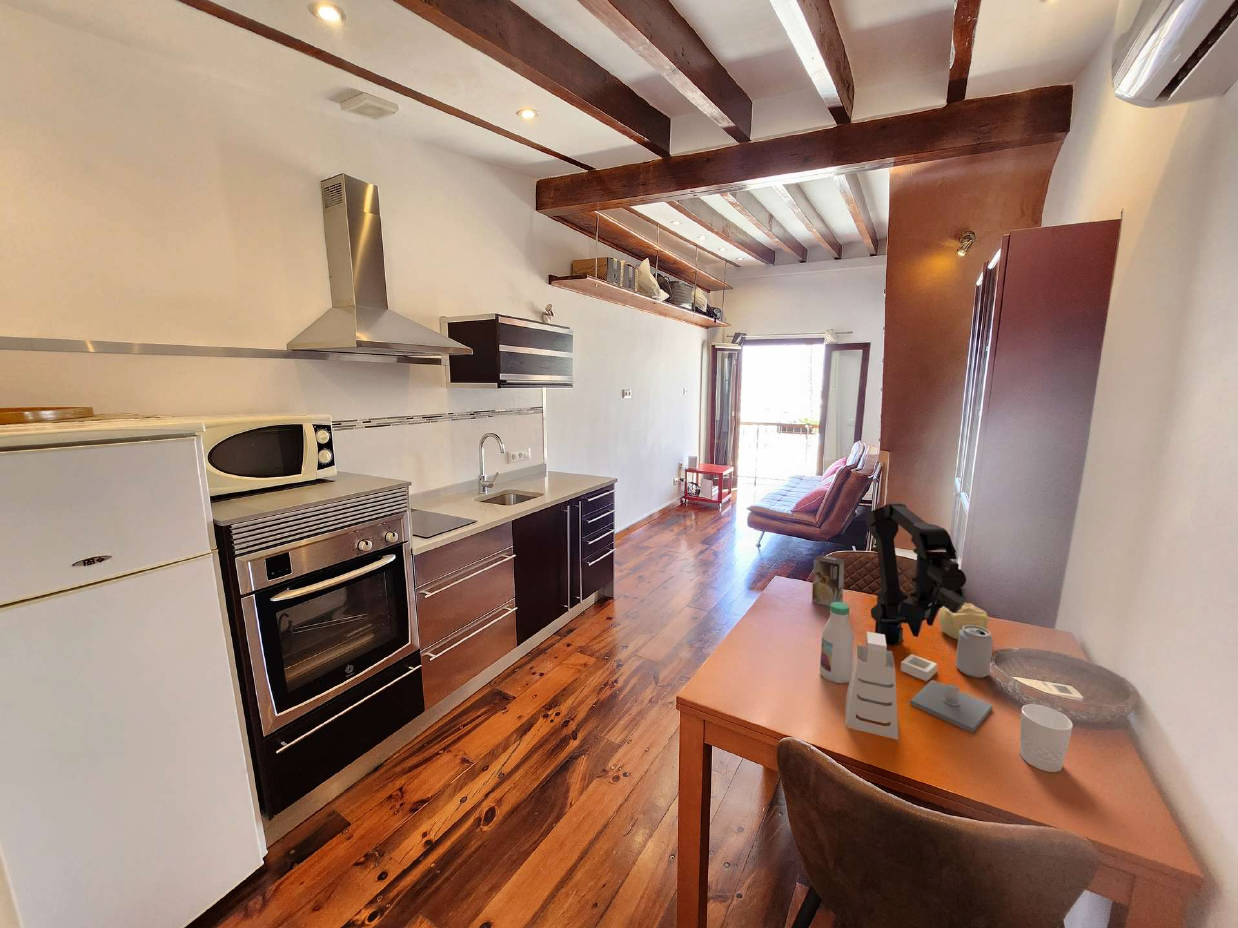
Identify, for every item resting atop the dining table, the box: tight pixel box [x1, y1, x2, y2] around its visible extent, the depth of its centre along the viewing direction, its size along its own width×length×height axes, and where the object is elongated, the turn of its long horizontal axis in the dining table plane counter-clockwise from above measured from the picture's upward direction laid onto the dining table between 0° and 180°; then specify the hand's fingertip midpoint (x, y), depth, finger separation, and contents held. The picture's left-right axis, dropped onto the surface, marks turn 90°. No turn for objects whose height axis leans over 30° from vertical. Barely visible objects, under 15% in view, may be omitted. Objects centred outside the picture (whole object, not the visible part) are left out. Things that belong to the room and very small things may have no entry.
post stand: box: [909, 679, 994, 734], centre depth 119 cm, size 13×13×5 cm
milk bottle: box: [819, 602, 855, 684], centre depth 131 cm, size 8×8×20 cm
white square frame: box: [900, 653, 938, 682], centre depth 134 cm, size 6×6×2 cm
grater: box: [845, 631, 899, 741], centre depth 114 cm, size 10×10×20 cm
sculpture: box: [937, 602, 990, 641], centre depth 152 cm, size 12×12×11 cm
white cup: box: [1019, 703, 1073, 773], centre depth 102 cm, size 8×8×10 cm
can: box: [955, 625, 994, 679], centre depth 133 cm, size 8×8×12 cm
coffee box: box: [811, 554, 846, 608], centre depth 175 cm, size 9×6×16 cm
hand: (922, 630), depth 133 cm, fingers open, 9 cm apart
